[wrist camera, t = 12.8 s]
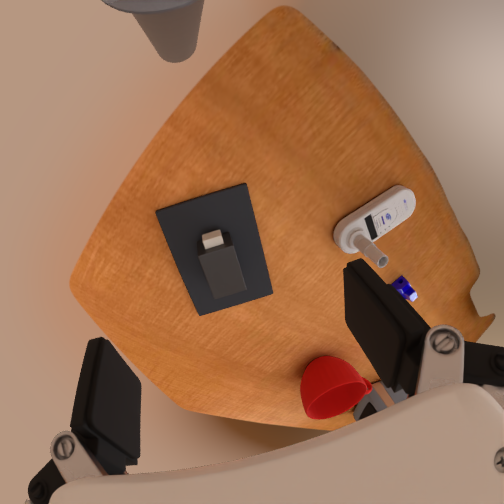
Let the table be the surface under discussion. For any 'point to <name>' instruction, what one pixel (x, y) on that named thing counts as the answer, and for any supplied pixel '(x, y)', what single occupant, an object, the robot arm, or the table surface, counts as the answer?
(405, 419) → the robot arm
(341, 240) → the electronic device
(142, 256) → the table surface
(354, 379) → the ceramic cup
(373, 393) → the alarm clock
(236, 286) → the block
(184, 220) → the desk mat
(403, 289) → the cable holder
